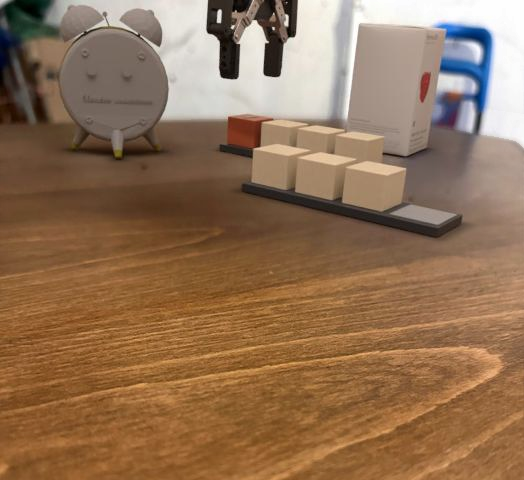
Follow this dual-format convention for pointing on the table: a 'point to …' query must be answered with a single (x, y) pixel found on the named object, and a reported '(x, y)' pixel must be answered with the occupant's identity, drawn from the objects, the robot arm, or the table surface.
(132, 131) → the alarm clock
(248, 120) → the orange block
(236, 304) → the table surface
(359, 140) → the left rack
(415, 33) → the white product box
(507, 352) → the table surface
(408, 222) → the right rack
